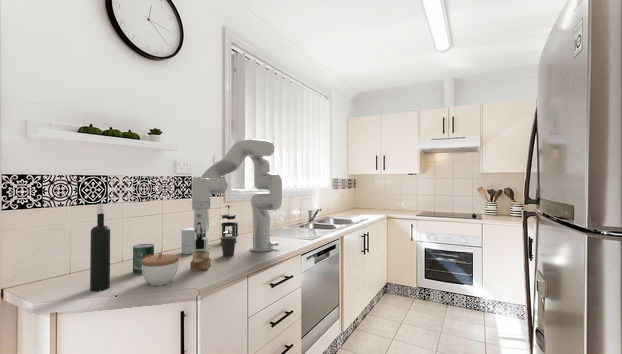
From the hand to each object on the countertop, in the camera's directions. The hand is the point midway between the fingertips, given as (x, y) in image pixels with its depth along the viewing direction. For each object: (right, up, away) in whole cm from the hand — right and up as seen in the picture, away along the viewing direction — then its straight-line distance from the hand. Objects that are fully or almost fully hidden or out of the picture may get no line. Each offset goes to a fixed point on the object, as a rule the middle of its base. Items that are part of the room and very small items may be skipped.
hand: (201, 246), depth 132 cm
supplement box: (-16, -10, +29) cm, 35 cm away
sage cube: (0, -1, 0) cm, 1 cm away
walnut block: (0, -10, 0) cm, 10 cm away
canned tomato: (-23, -10, -4) cm, 25 cm away
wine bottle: (-27, -9, -25) cm, 38 cm away
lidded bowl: (-9, -9, -18) cm, 22 cm away
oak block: (0, -6, 0) cm, 6 cm away
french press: (-3, -10, +55) cm, 56 cm away
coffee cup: (+6, -10, +22) cm, 25 cm away
